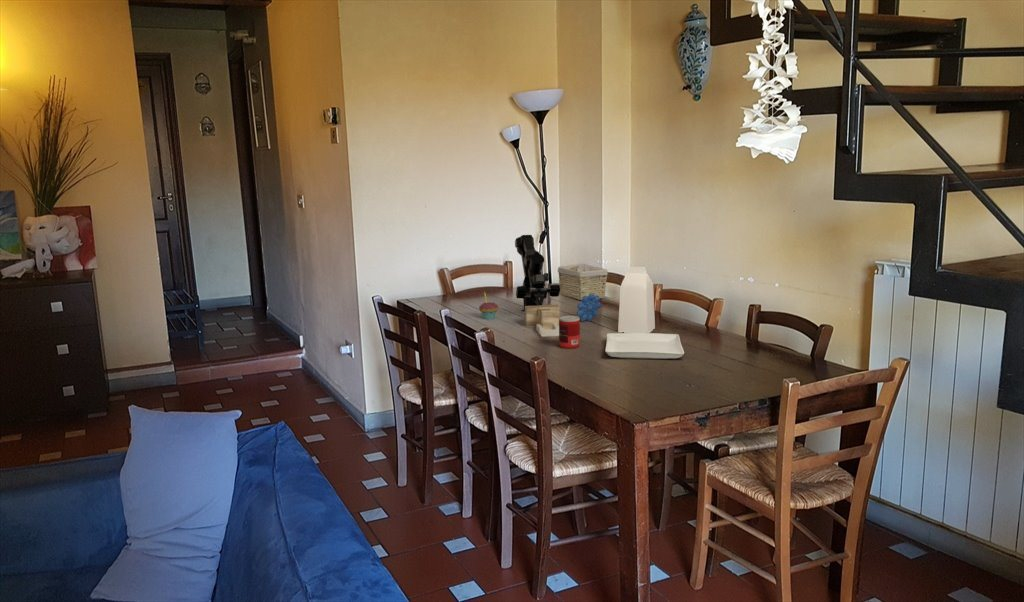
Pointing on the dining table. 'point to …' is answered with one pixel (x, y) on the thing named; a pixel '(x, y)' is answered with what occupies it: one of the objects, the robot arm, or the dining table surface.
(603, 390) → the dining table surface
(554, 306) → the t block
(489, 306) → the cupcake
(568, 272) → the storage basket
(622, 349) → the square plate
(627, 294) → the milk
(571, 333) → the canned food
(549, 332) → the slot guide
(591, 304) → the grapes
